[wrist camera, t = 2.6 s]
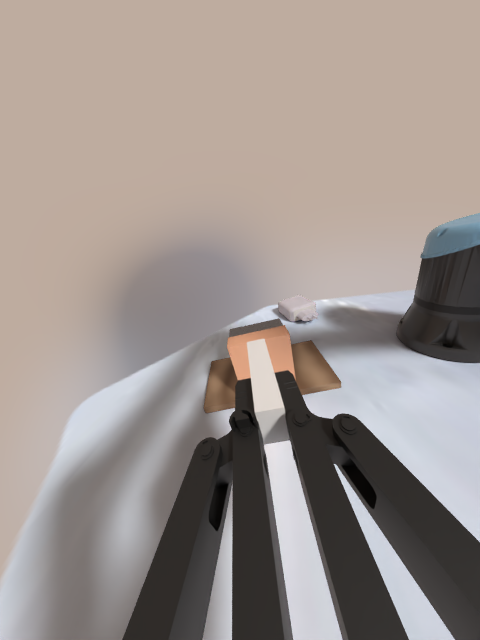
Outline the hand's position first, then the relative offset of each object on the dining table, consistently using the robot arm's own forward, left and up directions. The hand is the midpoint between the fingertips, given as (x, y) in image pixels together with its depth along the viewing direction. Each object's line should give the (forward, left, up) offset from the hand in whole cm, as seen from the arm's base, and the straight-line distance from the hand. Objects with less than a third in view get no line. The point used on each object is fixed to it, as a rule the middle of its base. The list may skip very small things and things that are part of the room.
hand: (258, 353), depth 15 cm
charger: (-16, -42, -21) cm, 49 cm away
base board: (0, -19, -20) cm, 27 cm away
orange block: (0, -16, -18) cm, 24 cm away
